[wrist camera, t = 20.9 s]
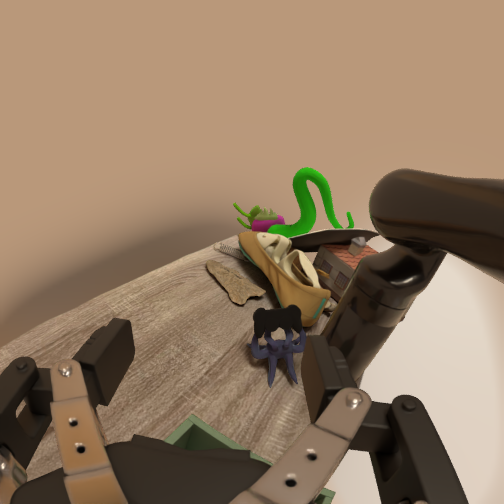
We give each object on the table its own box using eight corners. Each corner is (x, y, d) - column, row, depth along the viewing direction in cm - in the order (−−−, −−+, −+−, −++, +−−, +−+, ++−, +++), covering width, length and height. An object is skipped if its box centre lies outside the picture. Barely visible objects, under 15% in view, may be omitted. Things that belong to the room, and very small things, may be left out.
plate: (329, 235, 57) (328, 225, 57) (256, 254, 79) (256, 247, 79) (393, 239, 71) (392, 232, 71) (324, 254, 94) (323, 248, 94)
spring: (250, 263, 70) (253, 255, 70) (249, 263, 68) (252, 255, 68) (213, 248, 71) (216, 241, 71) (211, 248, 69) (214, 240, 69)
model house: (306, 274, 72) (328, 221, 66) (342, 271, 81) (363, 225, 75) (373, 334, 55) (407, 275, 49) (402, 320, 64) (431, 270, 58)
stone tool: (266, 297, 58) (221, 260, 66) (268, 289, 57) (222, 253, 65) (237, 309, 52) (193, 268, 61) (239, 301, 52) (194, 260, 60)
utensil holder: (275, 254, 69) (308, 285, 61) (295, 240, 70) (329, 269, 63) (279, 269, 73) (310, 299, 66) (297, 255, 75) (329, 283, 67)
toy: (321, 145, 66) (221, 193, 78) (326, 162, 57) (211, 215, 69) (351, 211, 77) (259, 247, 89) (358, 235, 68) (255, 273, 80)
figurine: (306, 388, 37) (304, 371, 44) (309, 305, 38) (306, 301, 46) (240, 386, 38) (248, 370, 46) (240, 305, 39) (248, 301, 47)
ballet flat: (259, 244, 77) (278, 213, 73) (325, 331, 55) (355, 296, 52) (226, 235, 70) (246, 201, 67) (289, 332, 49) (323, 291, 45)
